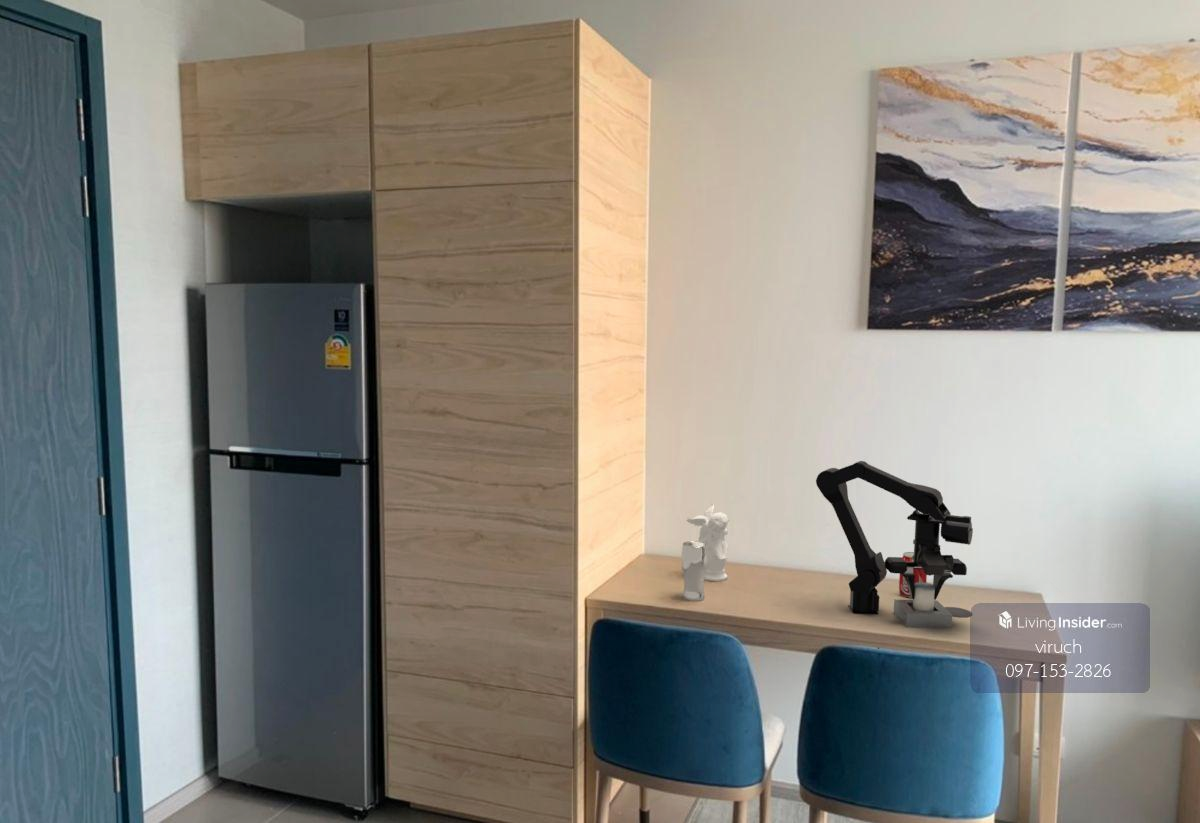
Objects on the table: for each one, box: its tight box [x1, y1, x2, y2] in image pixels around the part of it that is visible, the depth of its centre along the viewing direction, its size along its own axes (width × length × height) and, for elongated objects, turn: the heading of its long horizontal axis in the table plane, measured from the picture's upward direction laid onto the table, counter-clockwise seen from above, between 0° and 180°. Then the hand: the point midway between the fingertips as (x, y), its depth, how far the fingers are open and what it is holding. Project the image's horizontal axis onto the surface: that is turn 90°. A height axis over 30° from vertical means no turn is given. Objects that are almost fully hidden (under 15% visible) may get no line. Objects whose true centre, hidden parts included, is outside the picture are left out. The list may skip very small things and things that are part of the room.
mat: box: [944, 606, 973, 619], centre depth 227 cm, size 8×8×1 cm
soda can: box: [898, 551, 928, 599], centre depth 241 cm, size 7×7×12 cm
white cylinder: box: [912, 582, 935, 611], centre depth 220 cm, size 5×5×8 cm
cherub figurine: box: [686, 500, 730, 582], centre depth 257 cm, size 12×12×22 cm
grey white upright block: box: [681, 540, 707, 602], centre depth 238 cm, size 7×7×15 cm
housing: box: [893, 599, 953, 630], centre depth 221 cm, size 11×11×4 cm
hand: (923, 599), depth 220 cm, fingers closed on white cylinder, 5 cm apart
